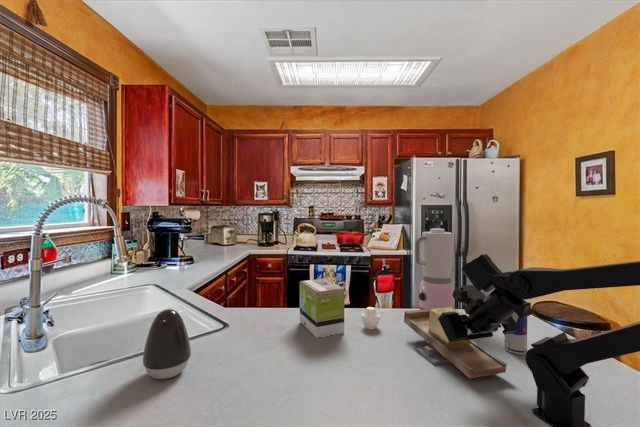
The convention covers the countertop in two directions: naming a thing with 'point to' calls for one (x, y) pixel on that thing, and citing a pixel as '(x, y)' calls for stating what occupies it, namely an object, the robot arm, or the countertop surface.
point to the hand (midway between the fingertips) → (460, 338)
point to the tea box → (322, 307)
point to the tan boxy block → (438, 331)
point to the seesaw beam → (456, 349)
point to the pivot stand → (432, 355)
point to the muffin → (370, 318)
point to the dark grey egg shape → (166, 346)
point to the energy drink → (517, 337)
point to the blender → (435, 269)
